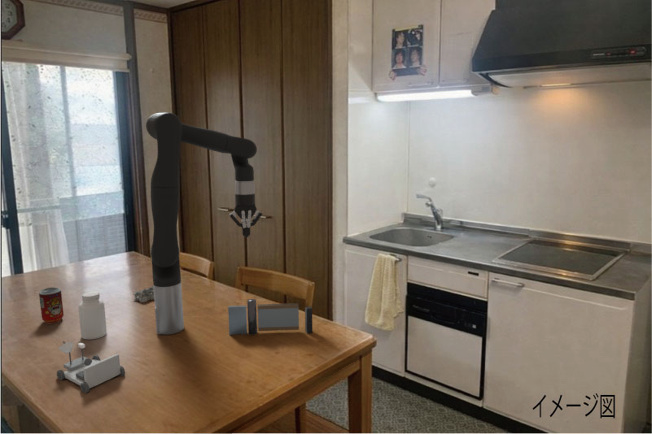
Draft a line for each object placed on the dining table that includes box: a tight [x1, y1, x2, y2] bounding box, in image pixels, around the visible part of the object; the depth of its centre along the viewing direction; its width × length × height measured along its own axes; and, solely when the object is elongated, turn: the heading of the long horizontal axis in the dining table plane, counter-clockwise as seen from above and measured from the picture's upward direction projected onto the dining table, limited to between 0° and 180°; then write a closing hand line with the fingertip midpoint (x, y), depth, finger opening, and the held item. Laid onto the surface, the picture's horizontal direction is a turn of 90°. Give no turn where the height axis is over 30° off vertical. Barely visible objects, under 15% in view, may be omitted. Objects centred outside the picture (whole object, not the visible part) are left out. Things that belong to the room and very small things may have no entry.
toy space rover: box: [56, 340, 126, 394], centre depth 136 cm, size 18×10×12 cm
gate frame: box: [227, 298, 314, 336], centre depth 164 cm, size 29×3×12 cm, turn 92°
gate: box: [257, 302, 300, 332], centre depth 164 cm, size 14×1×9 cm, turn 94°
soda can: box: [38, 286, 64, 325], centre depth 175 cm, size 7×7×12 cm
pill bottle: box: [78, 291, 107, 340], centre depth 162 cm, size 8×8×15 cm
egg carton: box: [132, 285, 154, 303], centre depth 200 cm, size 11×8×4 cm
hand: (246, 236), depth 183 cm, fingers closed
